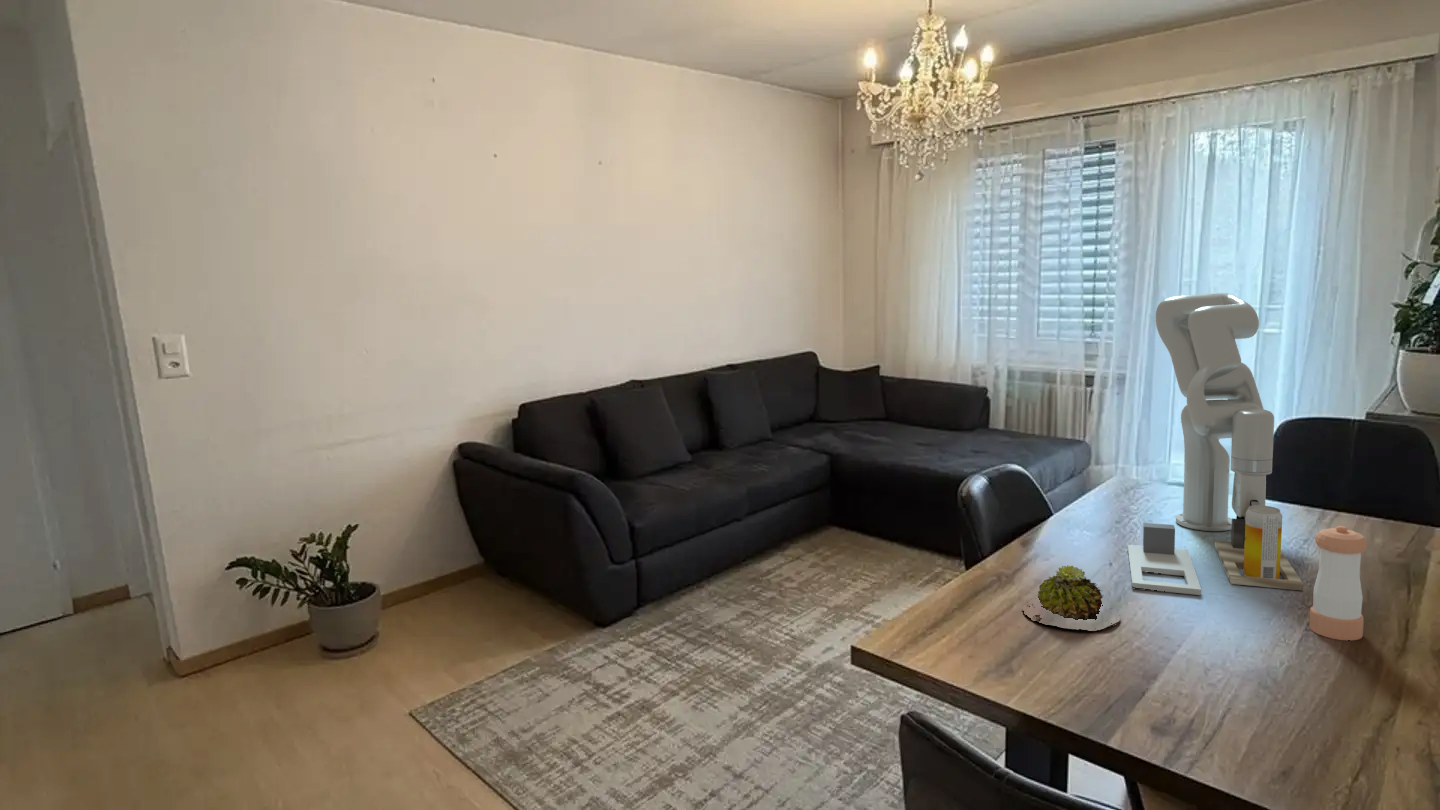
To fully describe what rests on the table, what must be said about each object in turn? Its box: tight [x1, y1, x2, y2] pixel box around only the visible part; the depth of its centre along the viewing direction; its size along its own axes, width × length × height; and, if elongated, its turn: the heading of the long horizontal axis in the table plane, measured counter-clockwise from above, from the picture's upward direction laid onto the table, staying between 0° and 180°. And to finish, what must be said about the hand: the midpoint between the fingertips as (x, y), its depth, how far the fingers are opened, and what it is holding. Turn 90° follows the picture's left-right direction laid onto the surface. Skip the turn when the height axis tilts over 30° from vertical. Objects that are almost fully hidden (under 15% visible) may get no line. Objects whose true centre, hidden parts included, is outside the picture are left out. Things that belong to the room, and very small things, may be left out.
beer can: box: [1242, 505, 1283, 579], centre depth 155 cm, size 6×6×15 cm
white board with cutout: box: [1127, 522, 1202, 596], centre depth 163 cm, size 24×12×7 cm, turn 154°
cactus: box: [1037, 564, 1117, 629], centre depth 145 cm, size 17×16×10 cm
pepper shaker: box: [1308, 525, 1369, 641], centre depth 131 cm, size 7×7×19 cm
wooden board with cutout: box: [1213, 518, 1305, 592], centre depth 162 cm, size 24×12×7 cm, turn 154°
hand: (1248, 538), depth 170 cm, fingers open, 9 cm apart
